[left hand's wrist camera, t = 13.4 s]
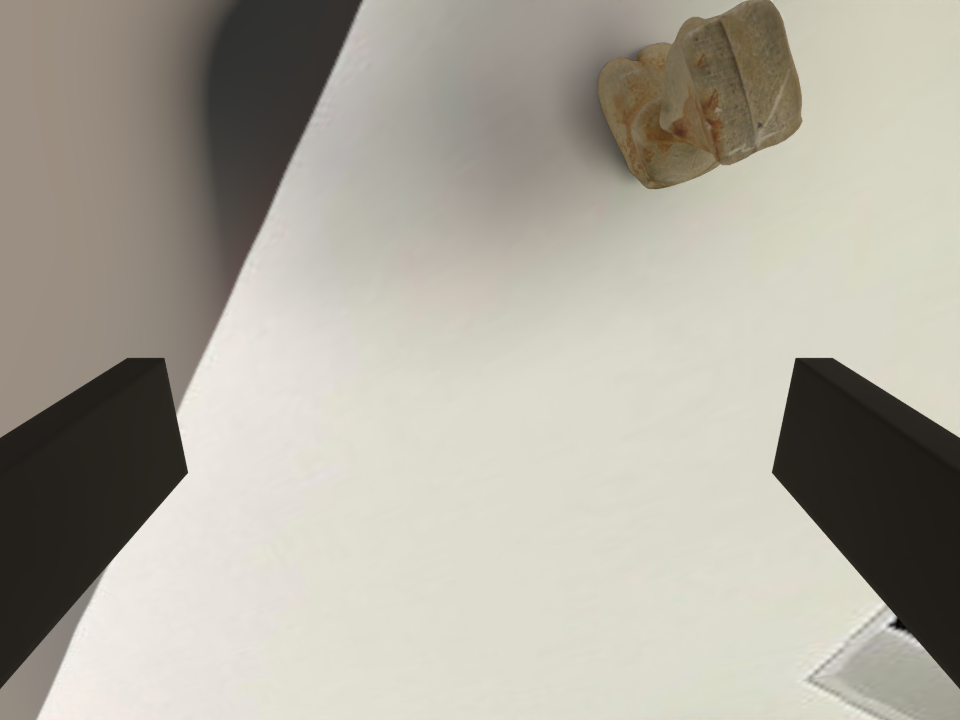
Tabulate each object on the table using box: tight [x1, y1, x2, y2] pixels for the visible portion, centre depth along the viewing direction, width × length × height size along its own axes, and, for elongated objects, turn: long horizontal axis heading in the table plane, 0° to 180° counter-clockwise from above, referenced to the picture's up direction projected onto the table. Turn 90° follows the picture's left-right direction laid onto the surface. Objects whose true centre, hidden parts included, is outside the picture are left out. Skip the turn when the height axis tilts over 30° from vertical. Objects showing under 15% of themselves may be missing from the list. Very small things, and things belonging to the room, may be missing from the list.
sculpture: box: [598, 0, 802, 189], centre depth 27 cm, size 6×7×15 cm
